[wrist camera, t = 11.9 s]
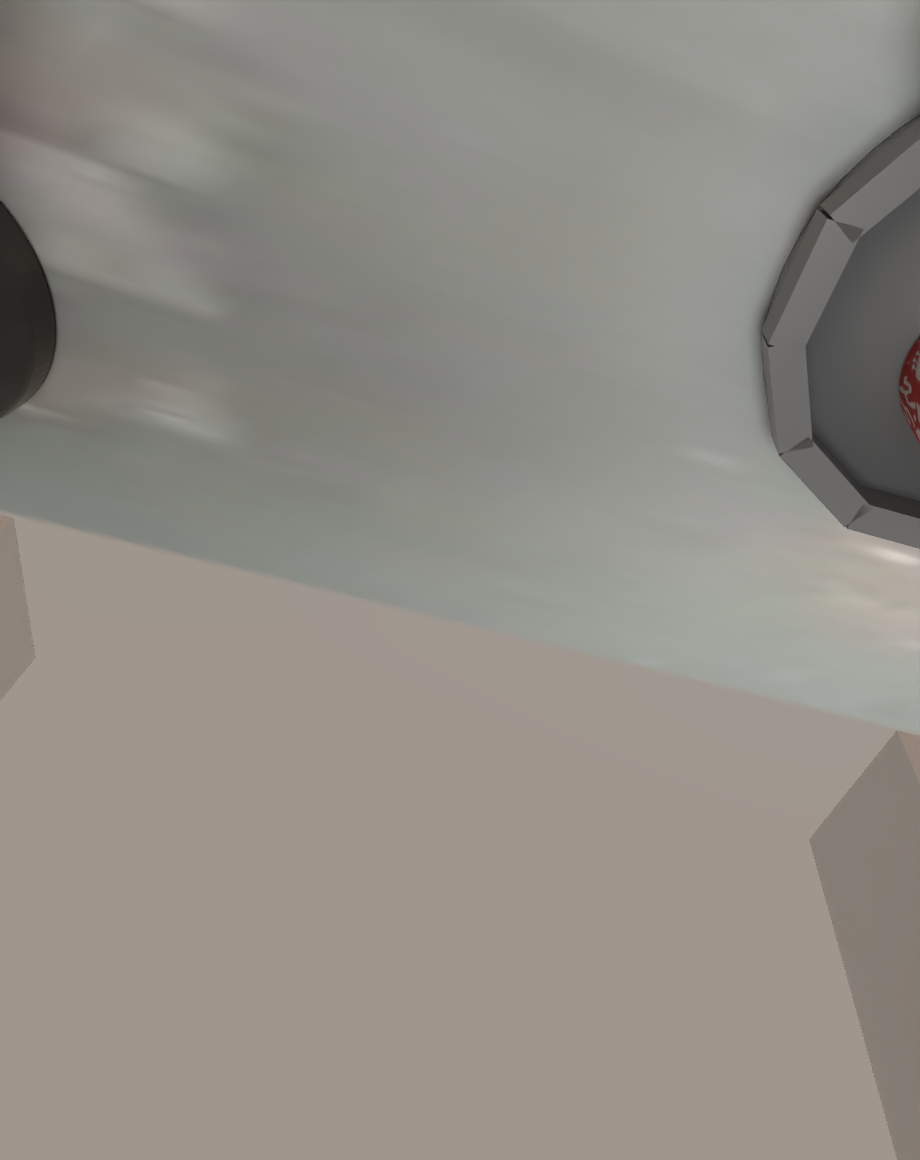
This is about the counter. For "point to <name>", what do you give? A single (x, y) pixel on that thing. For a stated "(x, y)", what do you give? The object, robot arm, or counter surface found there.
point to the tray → (853, 345)
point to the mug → (911, 389)
